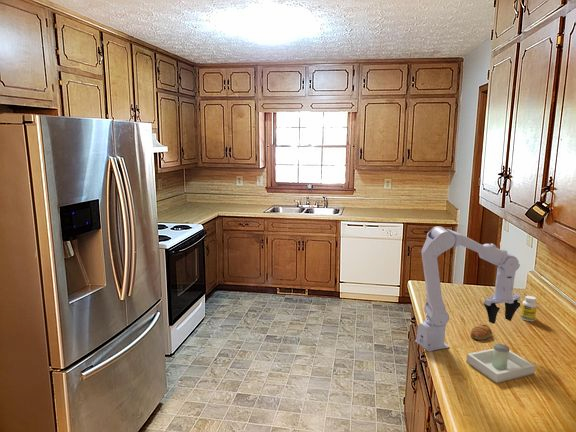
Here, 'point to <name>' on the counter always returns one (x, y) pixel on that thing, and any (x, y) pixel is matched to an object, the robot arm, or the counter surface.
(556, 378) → the counter surface
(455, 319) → the counter surface
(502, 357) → the tin
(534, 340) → the counter surface
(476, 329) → the pastry
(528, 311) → the supplement bottle
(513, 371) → the bin
